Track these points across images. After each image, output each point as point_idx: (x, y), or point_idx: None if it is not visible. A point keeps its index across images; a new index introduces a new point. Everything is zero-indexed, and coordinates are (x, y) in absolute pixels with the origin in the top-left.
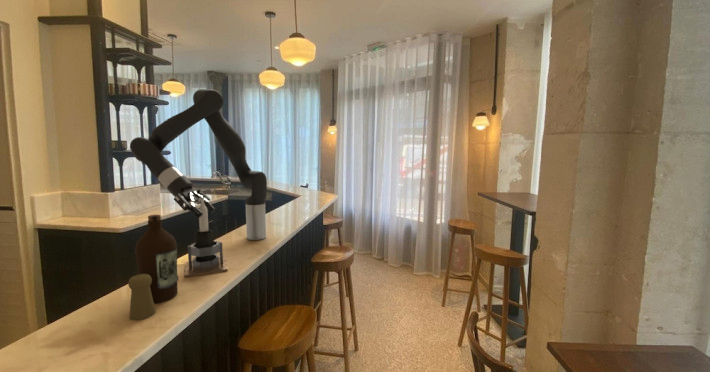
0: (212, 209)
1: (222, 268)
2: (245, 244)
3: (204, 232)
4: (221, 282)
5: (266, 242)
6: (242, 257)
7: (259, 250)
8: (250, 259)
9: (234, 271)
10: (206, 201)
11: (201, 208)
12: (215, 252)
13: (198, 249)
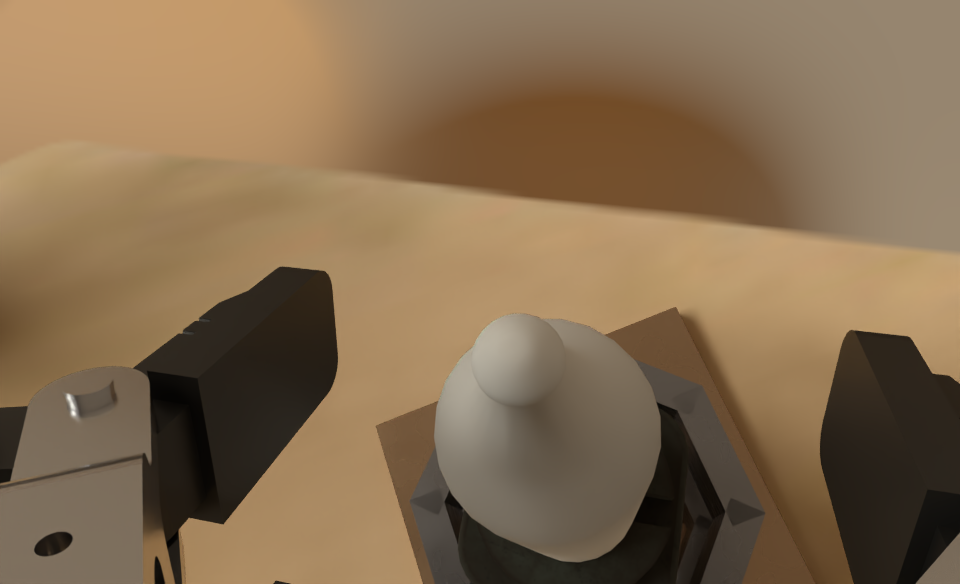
0: (316, 308)
1: (664, 352)
2: (16, 372)
3: (662, 454)
4: (909, 283)
5: (13, 213)
6: (360, 296)
7: (209, 213)
8: (416, 221)
9: (678, 260)
10: (149, 413)
11: (642, 423)
12: None
13: (757, 526)
